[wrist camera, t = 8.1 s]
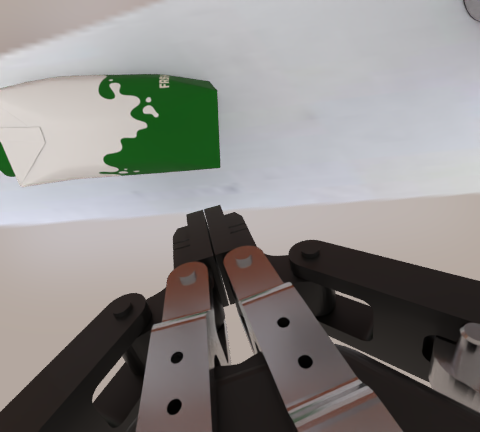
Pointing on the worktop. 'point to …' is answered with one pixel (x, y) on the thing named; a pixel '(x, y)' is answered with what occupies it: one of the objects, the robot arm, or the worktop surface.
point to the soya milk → (107, 127)
